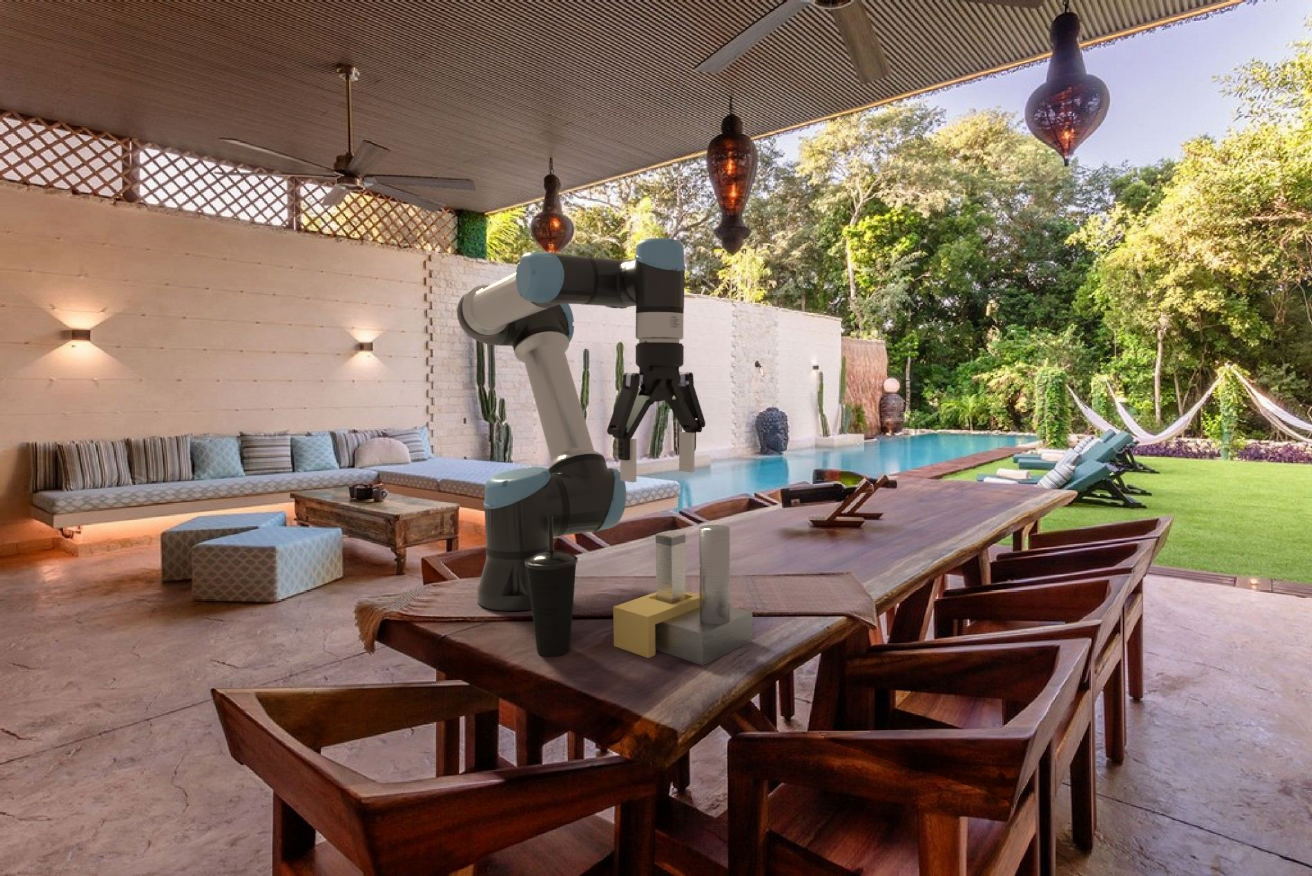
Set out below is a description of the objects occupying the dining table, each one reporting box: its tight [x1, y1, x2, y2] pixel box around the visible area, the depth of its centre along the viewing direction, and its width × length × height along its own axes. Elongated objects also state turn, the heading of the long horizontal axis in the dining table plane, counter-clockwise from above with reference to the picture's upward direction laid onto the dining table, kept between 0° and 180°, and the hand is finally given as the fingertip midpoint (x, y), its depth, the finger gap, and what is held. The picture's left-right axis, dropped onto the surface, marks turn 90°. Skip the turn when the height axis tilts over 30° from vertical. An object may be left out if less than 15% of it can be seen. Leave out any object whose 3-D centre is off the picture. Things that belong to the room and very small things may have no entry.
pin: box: [655, 530, 687, 604], centre depth 109 cm, size 3×3×16 cm
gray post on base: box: [655, 524, 753, 666], centre depth 106 cm, size 15×12×18 cm
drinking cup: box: [525, 516, 579, 658], centre depth 103 cm, size 8×8×20 cm
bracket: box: [612, 590, 700, 659], centre depth 107 cm, size 7×13×6 cm, turn 138°
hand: (658, 476), depth 112 cm, fingers open, 13 cm apart
